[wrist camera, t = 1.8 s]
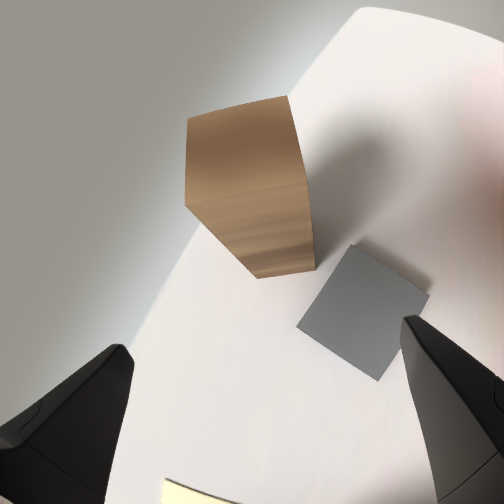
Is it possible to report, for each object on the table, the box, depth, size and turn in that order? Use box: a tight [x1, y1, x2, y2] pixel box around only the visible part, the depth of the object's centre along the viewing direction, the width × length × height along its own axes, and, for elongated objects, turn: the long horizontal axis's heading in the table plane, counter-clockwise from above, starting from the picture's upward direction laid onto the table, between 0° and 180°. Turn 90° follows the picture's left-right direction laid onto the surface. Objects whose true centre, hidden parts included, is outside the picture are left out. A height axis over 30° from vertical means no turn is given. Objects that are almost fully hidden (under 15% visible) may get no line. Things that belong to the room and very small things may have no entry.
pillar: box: [185, 96, 316, 279], centre depth 17 cm, size 4×4×13 cm
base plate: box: [296, 244, 430, 381], centre depth 19 cm, size 7×7×2 cm
